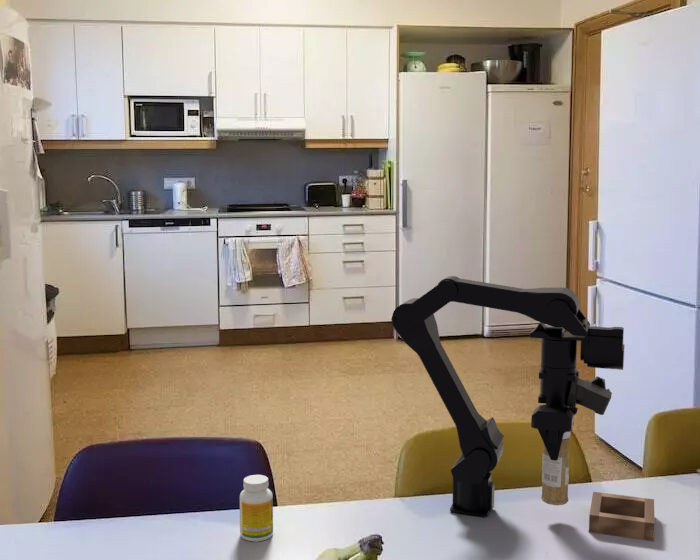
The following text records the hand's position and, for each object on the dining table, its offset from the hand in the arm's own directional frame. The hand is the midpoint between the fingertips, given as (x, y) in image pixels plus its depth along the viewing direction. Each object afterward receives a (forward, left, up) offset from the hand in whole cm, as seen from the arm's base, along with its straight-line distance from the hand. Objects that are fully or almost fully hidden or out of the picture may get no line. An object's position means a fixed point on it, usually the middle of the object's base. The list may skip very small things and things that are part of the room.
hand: (555, 455), depth 137 cm
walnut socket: (+11, +2, -11) cm, 16 cm away
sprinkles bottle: (0, 0, -8) cm, 8 cm away
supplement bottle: (-45, -22, -12) cm, 51 cm away
